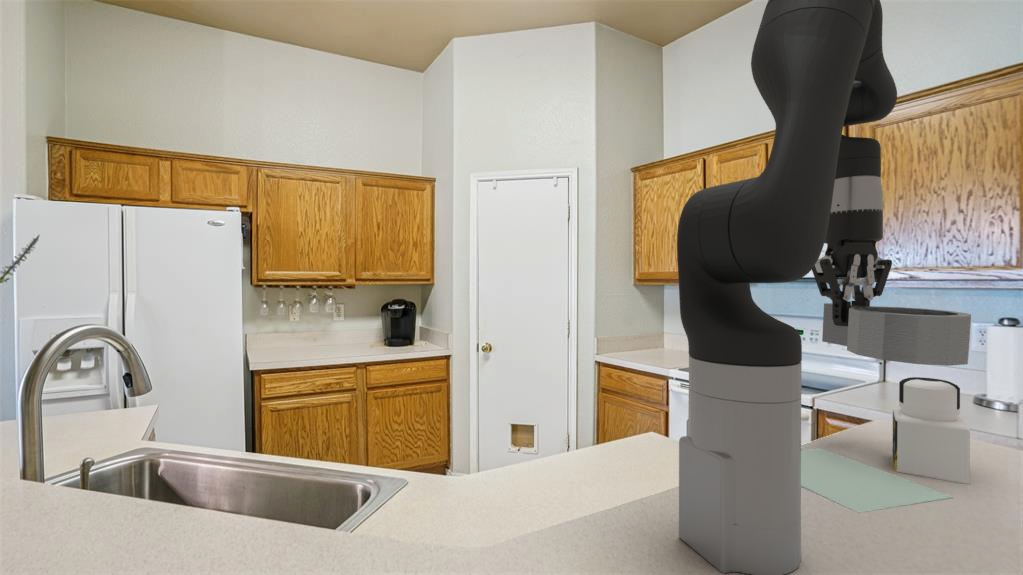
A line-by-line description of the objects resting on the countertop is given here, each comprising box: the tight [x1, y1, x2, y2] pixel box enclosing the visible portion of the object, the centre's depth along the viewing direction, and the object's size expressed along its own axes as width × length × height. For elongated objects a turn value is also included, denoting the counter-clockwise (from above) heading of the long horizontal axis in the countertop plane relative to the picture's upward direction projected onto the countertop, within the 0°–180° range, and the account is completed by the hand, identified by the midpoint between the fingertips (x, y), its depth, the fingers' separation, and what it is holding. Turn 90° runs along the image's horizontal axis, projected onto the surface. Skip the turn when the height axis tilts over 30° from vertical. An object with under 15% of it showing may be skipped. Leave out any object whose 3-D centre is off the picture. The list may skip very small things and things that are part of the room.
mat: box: [801, 447, 954, 514], centre depth 61 cm, size 14×17×1 cm
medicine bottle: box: [892, 376, 971, 485], centre depth 64 cm, size 7×7×12 cm
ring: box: [821, 302, 972, 367], centre depth 68 cm, size 12×18×6 cm
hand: (851, 324), depth 73 cm, fingers closed on ring, 3 cm apart
